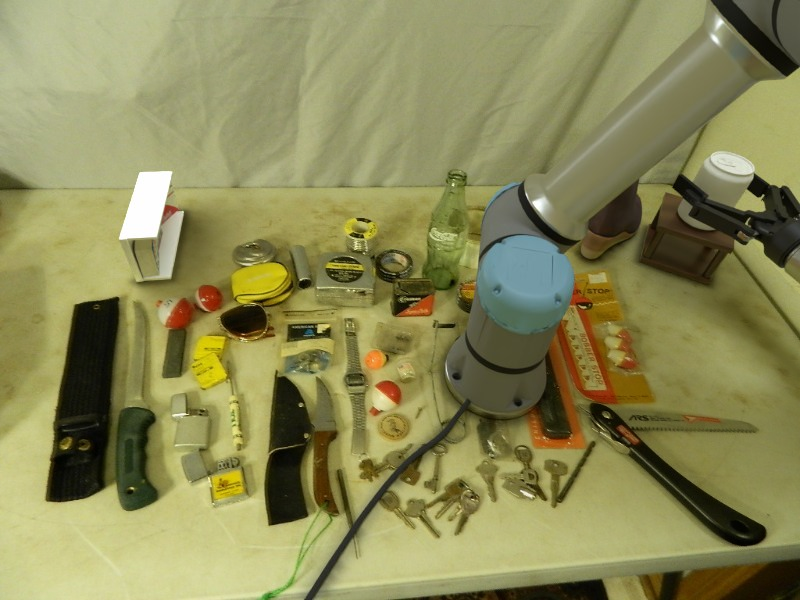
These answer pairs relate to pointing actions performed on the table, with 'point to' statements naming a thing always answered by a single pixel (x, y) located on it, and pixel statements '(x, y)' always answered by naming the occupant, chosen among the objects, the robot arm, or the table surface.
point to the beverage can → (720, 182)
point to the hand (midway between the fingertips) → (707, 175)
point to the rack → (683, 244)
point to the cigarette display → (152, 227)
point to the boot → (613, 223)
